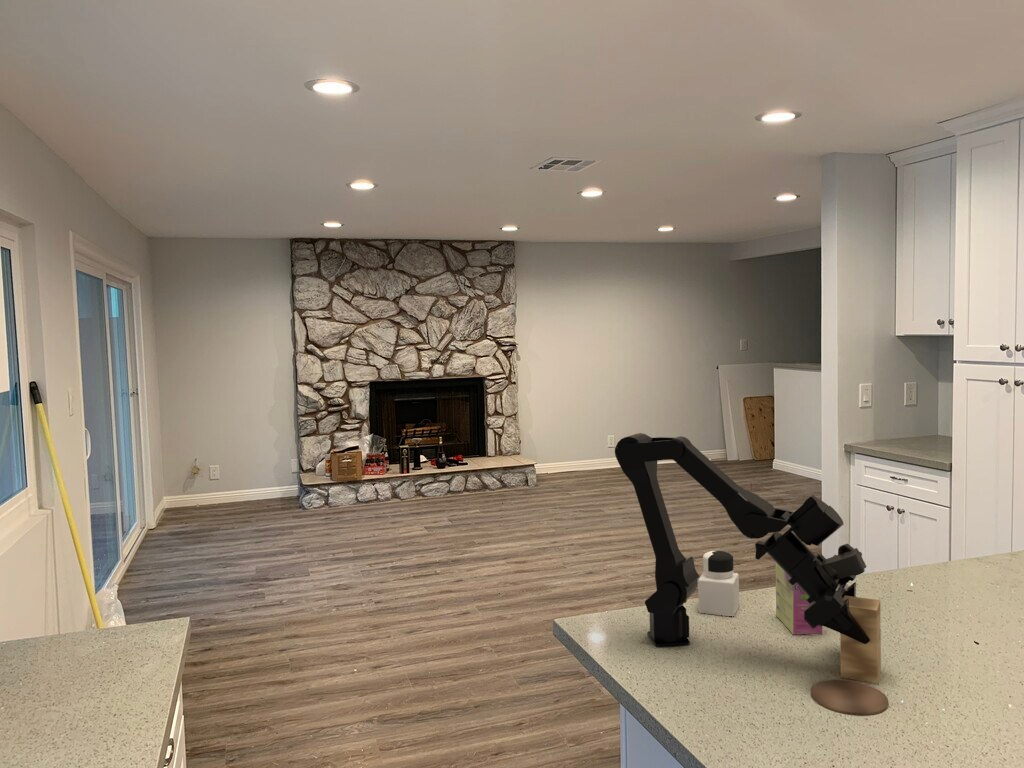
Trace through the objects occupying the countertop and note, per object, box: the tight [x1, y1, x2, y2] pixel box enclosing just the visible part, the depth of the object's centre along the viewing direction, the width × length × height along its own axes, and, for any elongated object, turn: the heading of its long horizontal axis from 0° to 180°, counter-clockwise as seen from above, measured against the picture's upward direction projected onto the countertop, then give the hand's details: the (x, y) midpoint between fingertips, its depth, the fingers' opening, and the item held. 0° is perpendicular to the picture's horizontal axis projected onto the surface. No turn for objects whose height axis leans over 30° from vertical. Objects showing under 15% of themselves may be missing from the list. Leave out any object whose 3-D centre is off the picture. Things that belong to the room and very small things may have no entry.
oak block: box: [839, 596, 882, 684], centre depth 128 cm, size 6×6×12 cm
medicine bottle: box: [697, 550, 740, 618], centre depth 160 cm, size 7×7×12 cm
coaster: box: [810, 679, 889, 716], centre depth 119 cm, size 11×11×1 cm
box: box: [775, 562, 823, 636], centre depth 150 cm, size 10×6×12 cm, turn 179°
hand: (869, 636), depth 127 cm, fingers closed on oak block, 5 cm apart
